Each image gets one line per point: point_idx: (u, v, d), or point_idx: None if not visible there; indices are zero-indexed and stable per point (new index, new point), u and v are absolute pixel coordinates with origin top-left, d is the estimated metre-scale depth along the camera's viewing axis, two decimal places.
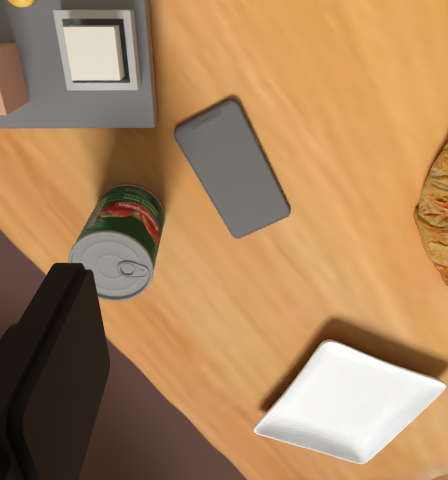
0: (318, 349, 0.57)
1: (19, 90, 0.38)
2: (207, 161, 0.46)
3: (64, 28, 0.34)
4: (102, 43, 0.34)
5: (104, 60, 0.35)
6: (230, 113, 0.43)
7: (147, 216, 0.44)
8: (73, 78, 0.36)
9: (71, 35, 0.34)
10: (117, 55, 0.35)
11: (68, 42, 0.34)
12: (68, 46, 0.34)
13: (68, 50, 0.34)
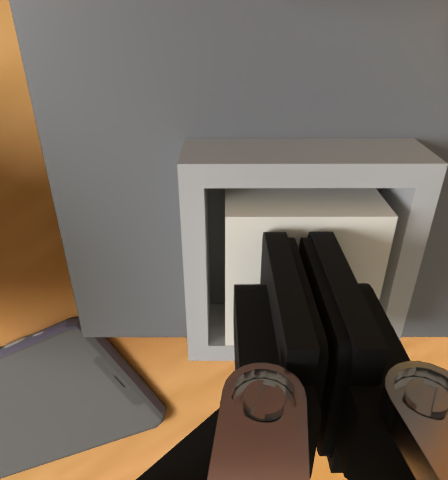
0: None
1: None
2: (22, 382, 0.20)
3: (393, 220, 0.10)
4: None
5: None
6: (138, 418, 0.21)
7: None
8: (232, 222, 0.10)
9: (367, 235, 0.10)
10: None
11: (348, 224, 0.10)
12: (338, 222, 0.10)
13: (324, 221, 0.10)
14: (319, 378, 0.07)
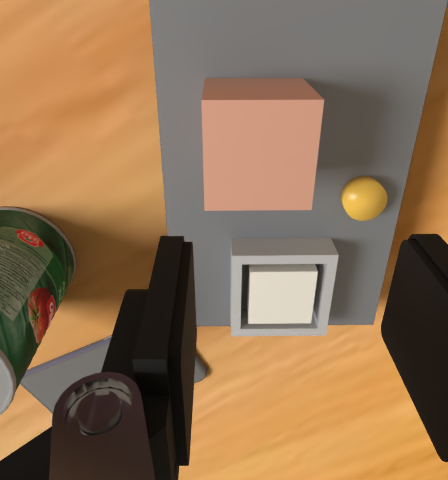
0: None
1: None
2: None
3: (316, 272, 0.25)
4: (293, 310, 0.27)
5: (273, 310, 0.27)
6: None
7: None
8: (252, 273, 0.25)
9: (306, 278, 0.25)
10: None
11: (298, 274, 0.25)
12: (294, 273, 0.25)
13: (289, 273, 0.25)
14: (176, 387, 0.07)
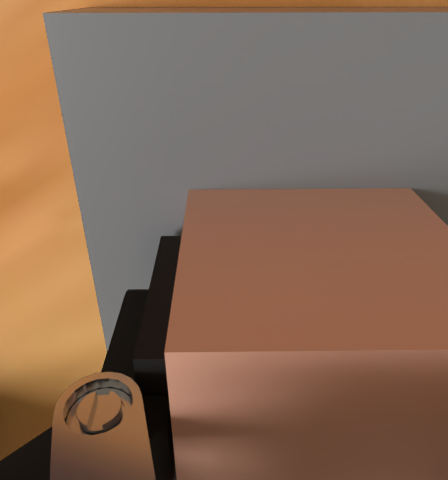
0: None
1: None
2: None
3: None
4: None
5: None
6: None
7: None
8: None
9: None
10: None
11: None
12: None
13: None
14: None
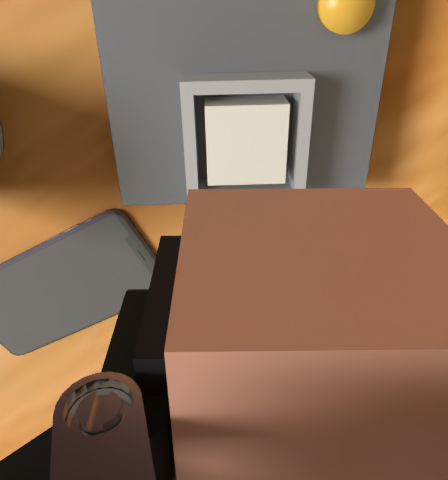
0: None
1: None
2: (76, 257, 0.29)
3: (287, 106, 0.20)
4: (262, 164, 0.21)
5: (237, 165, 0.21)
6: None
7: None
8: (207, 109, 0.20)
9: (276, 115, 0.20)
10: None
11: (266, 109, 0.20)
12: (260, 108, 0.20)
13: (253, 107, 0.20)
14: None
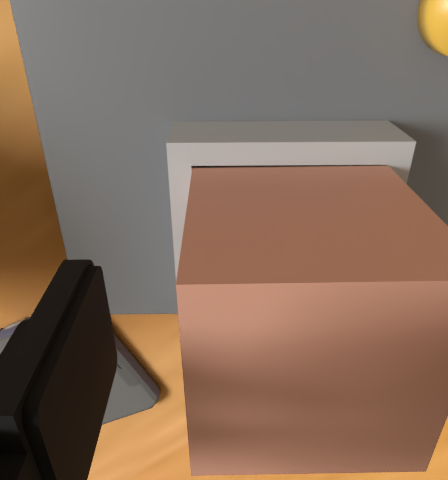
0: None
1: None
2: None
3: None
4: None
5: None
6: (133, 399, 0.22)
7: None
8: None
9: None
10: None
11: None
12: None
13: None
14: (37, 443, 0.06)
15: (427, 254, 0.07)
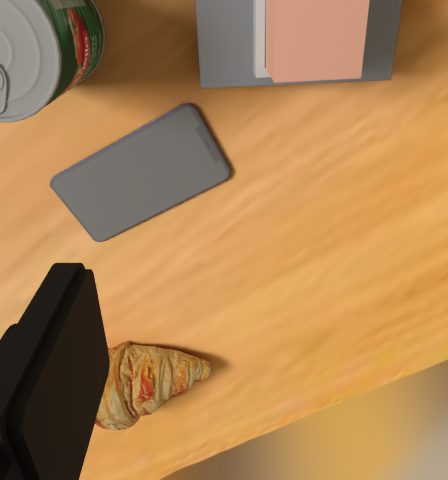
0: None
1: None
2: (155, 146, 0.36)
3: None
4: None
5: None
6: (215, 172, 0.37)
7: (74, 82, 0.29)
8: None
9: None
10: None
11: None
12: None
13: None
14: (22, 452, 0.06)
15: None
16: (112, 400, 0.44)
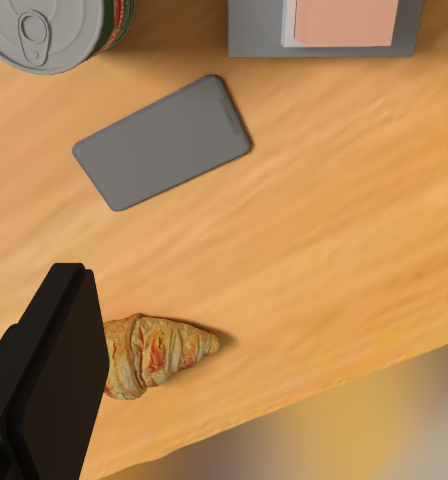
0: None
1: None
2: (178, 116, 0.37)
3: None
4: None
5: None
6: (235, 145, 0.38)
7: (107, 44, 0.30)
8: None
9: None
10: None
11: None
12: None
13: None
14: (22, 452, 0.06)
15: None
16: (122, 368, 0.45)
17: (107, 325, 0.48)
